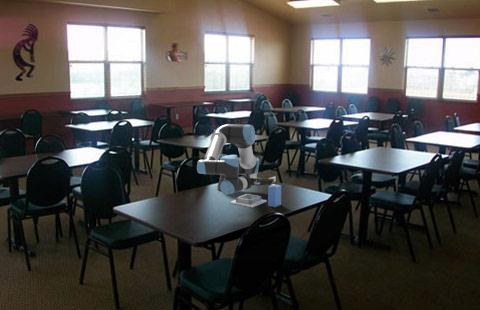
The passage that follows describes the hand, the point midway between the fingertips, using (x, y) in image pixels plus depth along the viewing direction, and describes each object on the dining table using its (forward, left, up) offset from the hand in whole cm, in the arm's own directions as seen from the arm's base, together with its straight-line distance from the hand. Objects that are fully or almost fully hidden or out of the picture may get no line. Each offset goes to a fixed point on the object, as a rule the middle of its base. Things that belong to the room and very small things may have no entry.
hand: (265, 177), depth 288 cm
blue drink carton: (-10, +1, -19) cm, 21 cm away
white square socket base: (-6, -15, -19) cm, 25 cm away
